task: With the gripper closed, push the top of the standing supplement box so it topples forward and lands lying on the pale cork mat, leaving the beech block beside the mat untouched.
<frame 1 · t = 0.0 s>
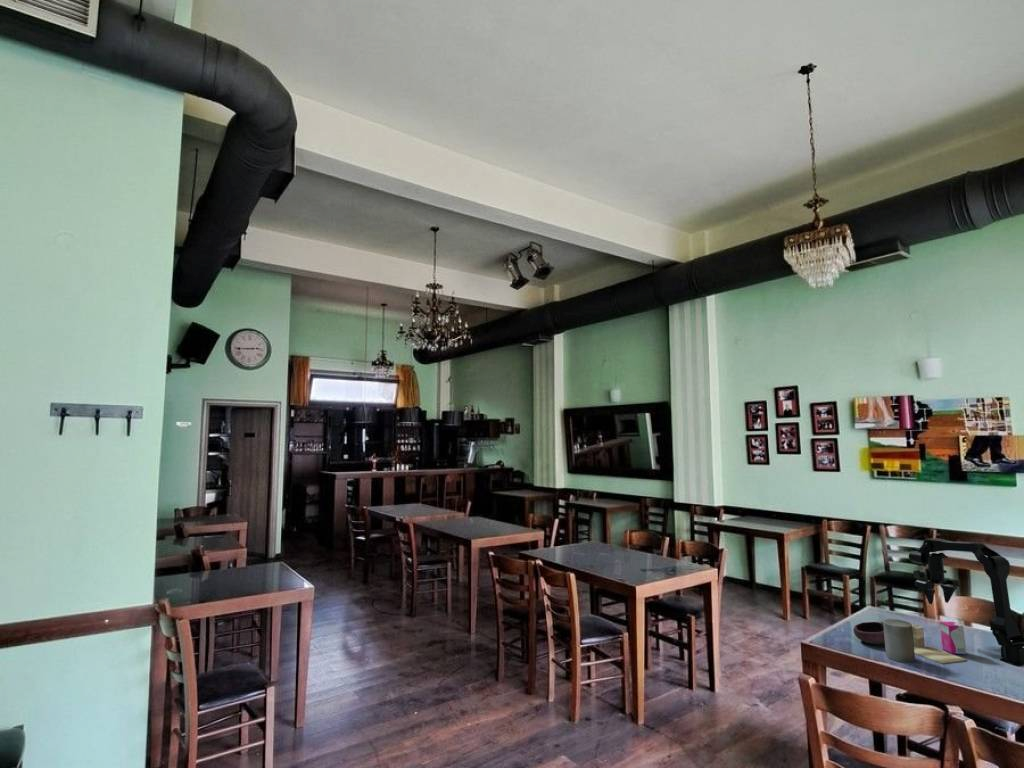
hand: (938, 603, 243), 15 cm above the table, fingers open, 9 cm apart
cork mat: (935, 655, 222), on the table
supplement box: (954, 652, 225), on the table
beech block: (916, 645, 232), on the table
bowl: (872, 642, 237), on the table
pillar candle: (900, 658, 219), on the table
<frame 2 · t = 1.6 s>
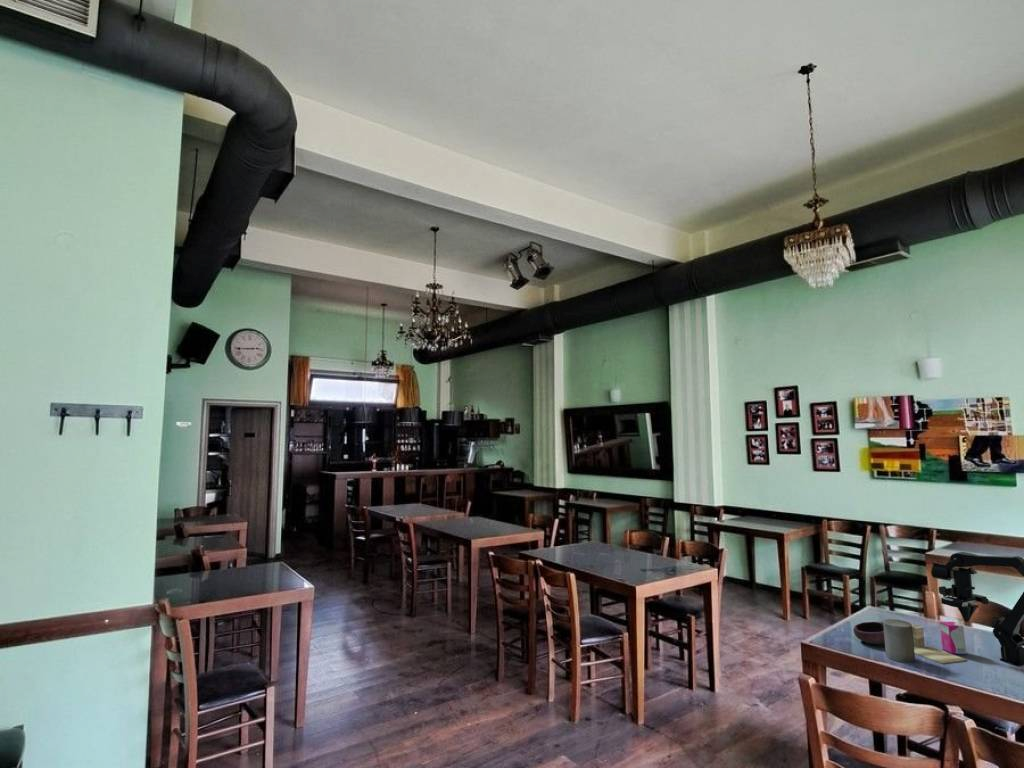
hand: (966, 621, 228), 11 cm above the table, fingers closed
nothing on the table moved.
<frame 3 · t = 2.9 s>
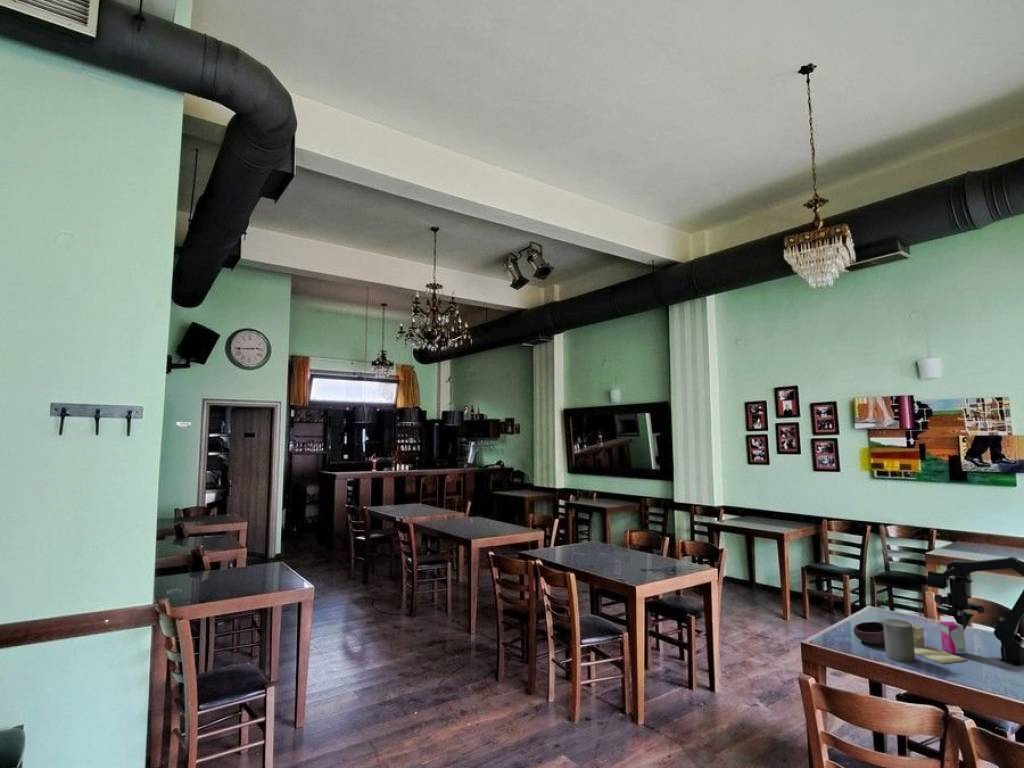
hand: (962, 630, 227), 8 cm above the table, fingers closed
supplement box: (954, 652, 225), on the table, touching gripper
everything else where it was.
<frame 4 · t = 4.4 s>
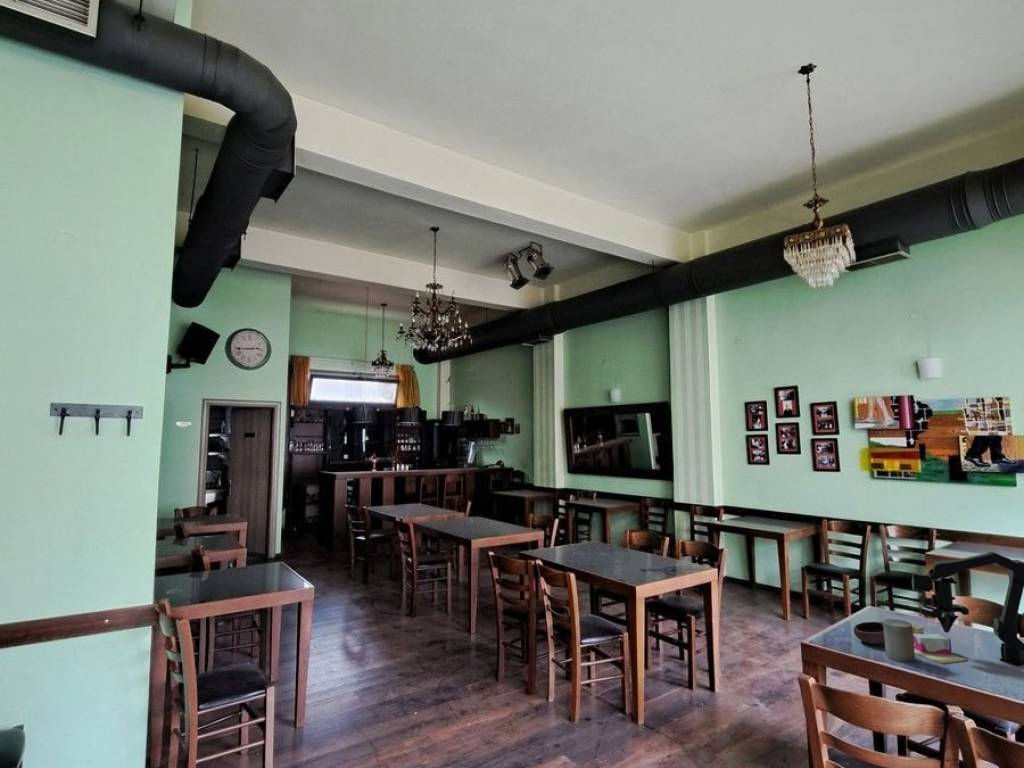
hand: (946, 632, 225), 8 cm above the table, fingers closed
supplement box: (946, 643, 226), point 3 cm above the table, touching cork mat
everything else where it was.
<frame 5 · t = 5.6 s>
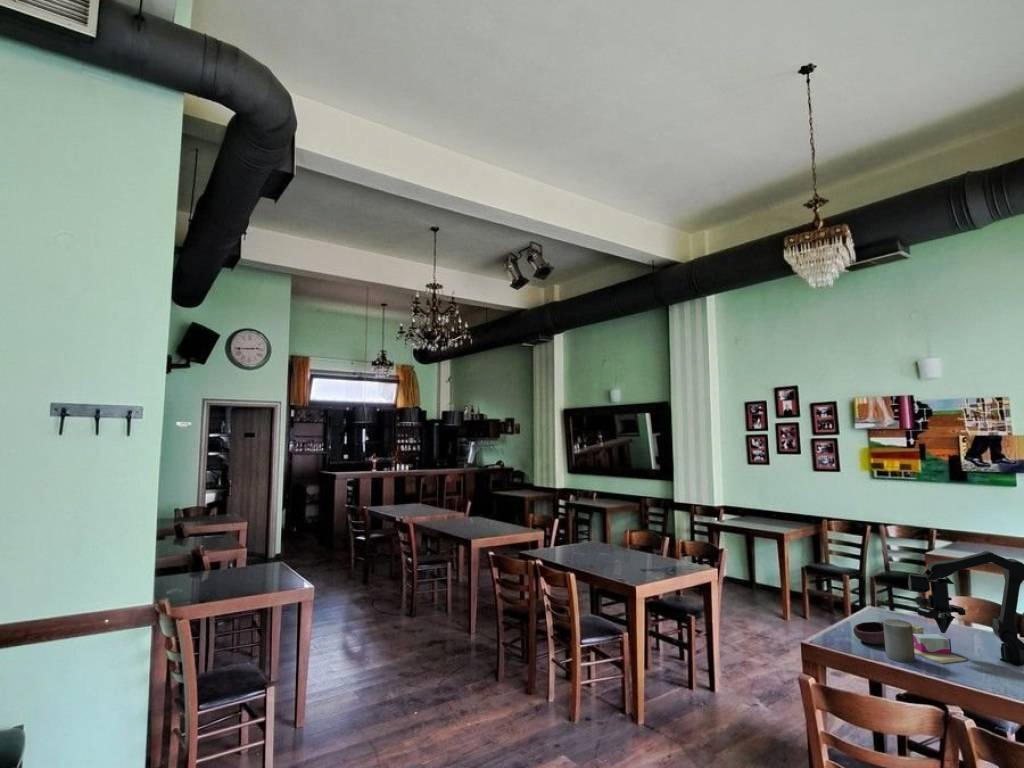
hand: (943, 633, 225), 8 cm above the table, fingers closed
nothing on the table moved.
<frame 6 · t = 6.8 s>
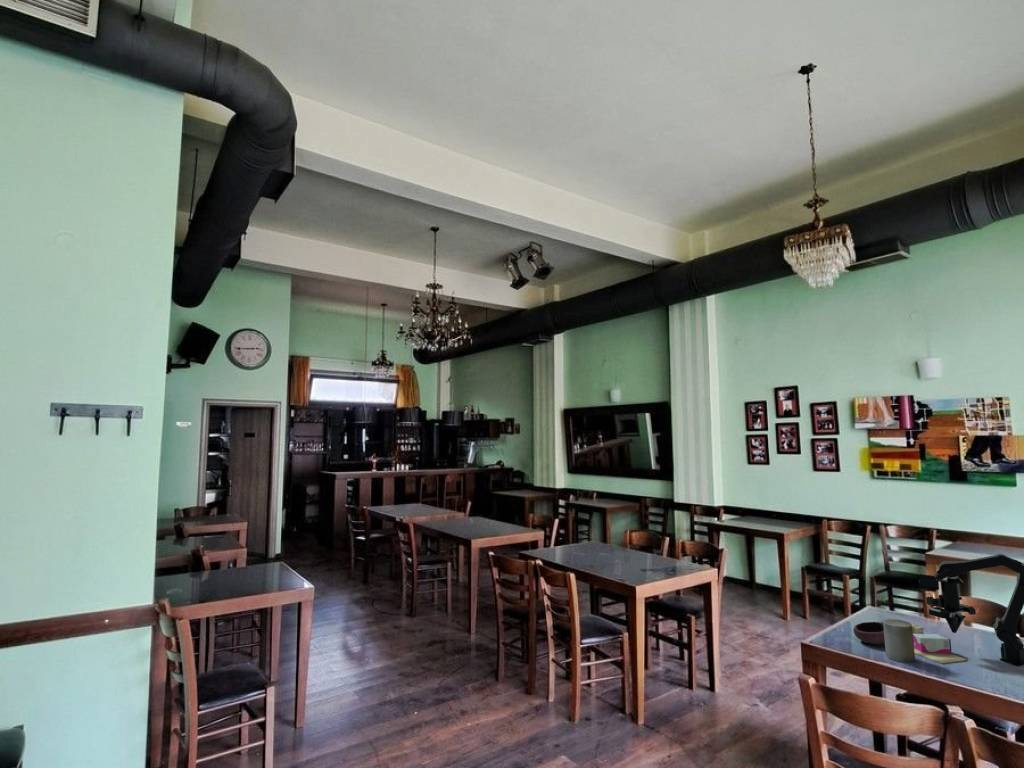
hand: (954, 632, 226), 8 cm above the table, fingers closed
nothing on the table moved.
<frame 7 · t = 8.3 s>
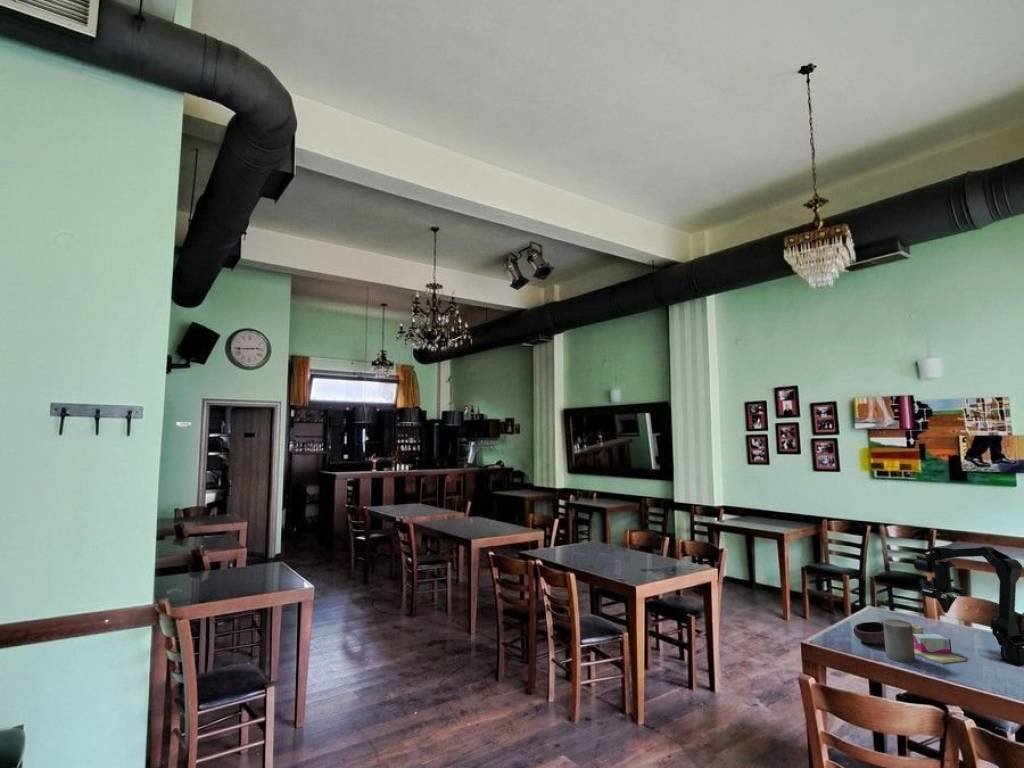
hand: (945, 612, 238), 12 cm above the table, fingers closed
nothing on the table moved.
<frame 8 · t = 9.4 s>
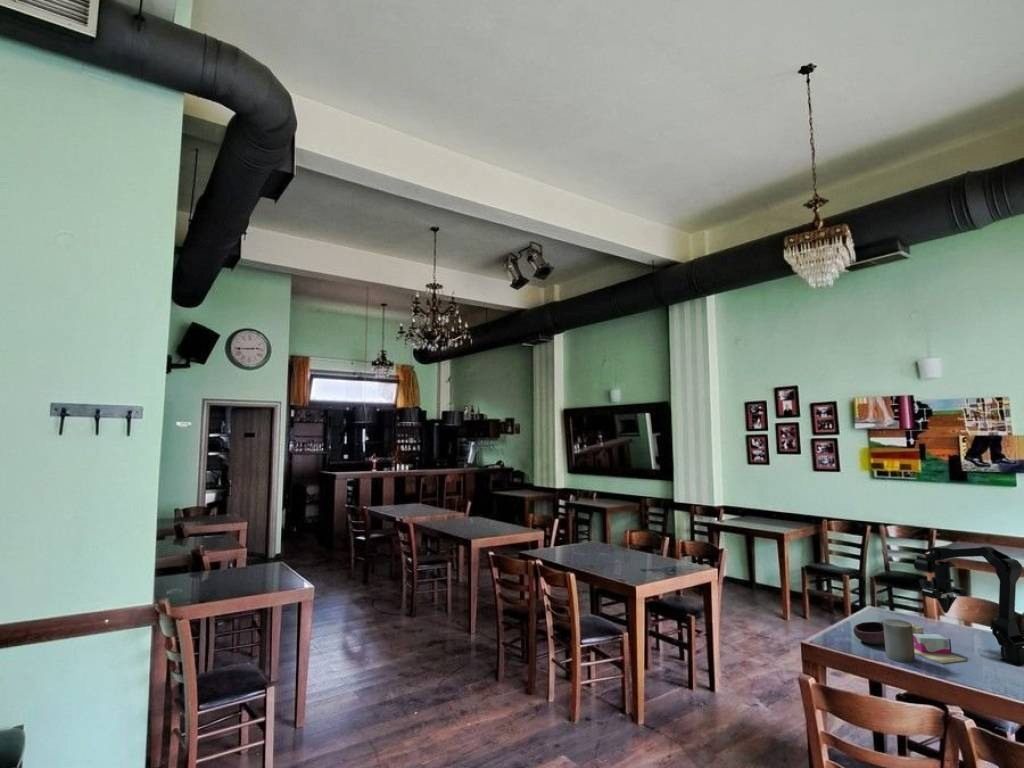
hand: (945, 612, 238), 12 cm above the table, fingers closed
nothing on the table moved.
at the end: supplement box tilted 90°; supplement box inside the target area (7.6 cm from its centre), point 3.2 cm above the table; beech block moved 0.6 cm from its start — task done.
